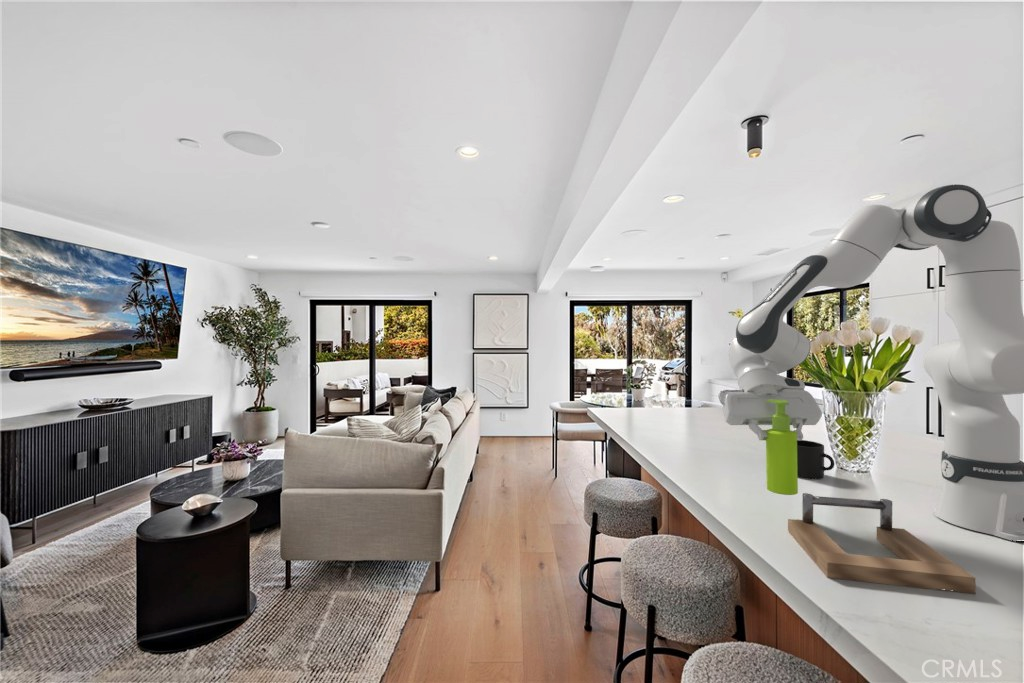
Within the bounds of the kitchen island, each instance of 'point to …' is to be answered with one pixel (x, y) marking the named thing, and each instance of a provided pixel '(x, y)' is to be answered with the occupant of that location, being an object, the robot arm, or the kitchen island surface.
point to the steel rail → (882, 505)
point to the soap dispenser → (781, 453)
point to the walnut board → (884, 560)
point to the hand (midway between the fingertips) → (781, 439)
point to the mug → (811, 460)
